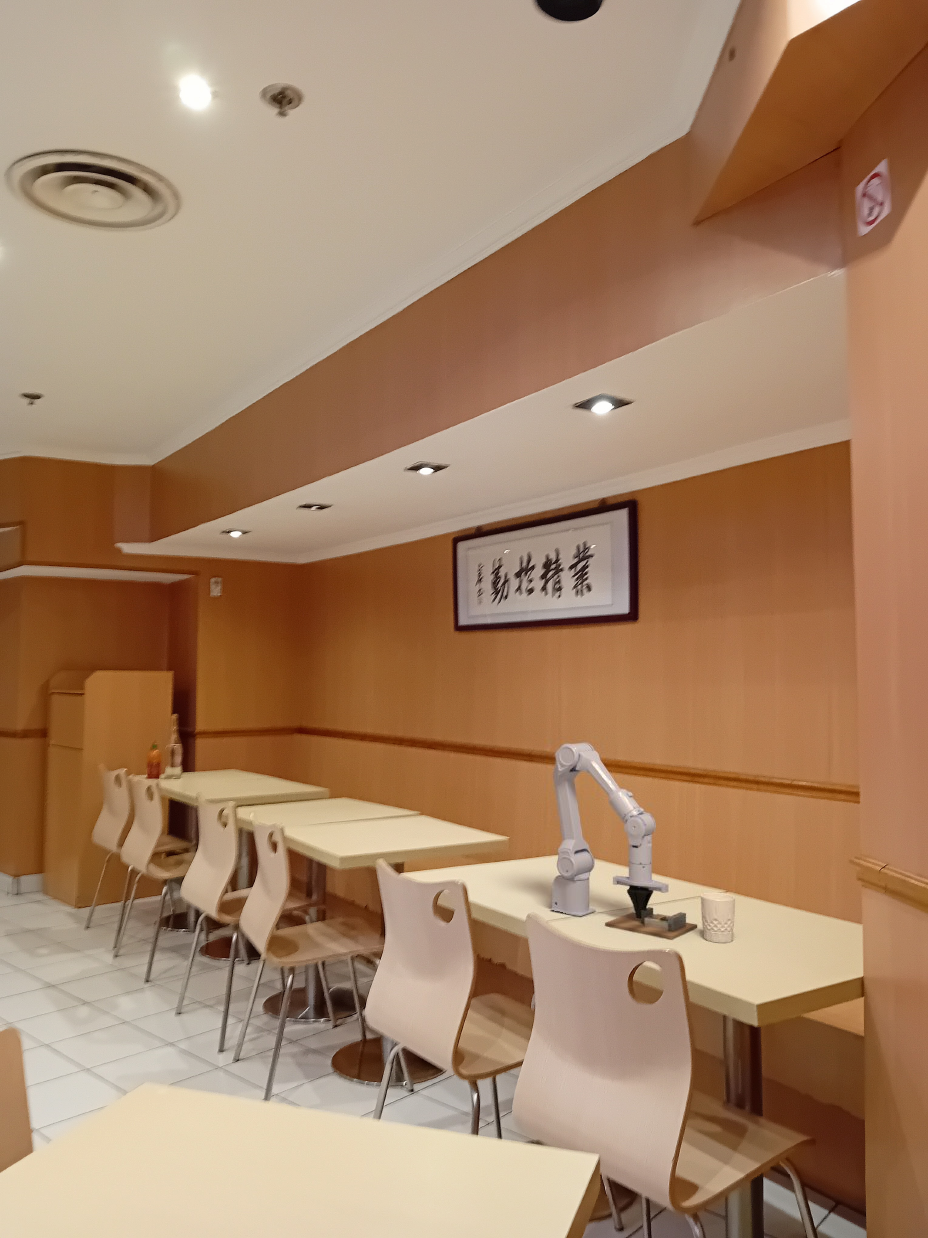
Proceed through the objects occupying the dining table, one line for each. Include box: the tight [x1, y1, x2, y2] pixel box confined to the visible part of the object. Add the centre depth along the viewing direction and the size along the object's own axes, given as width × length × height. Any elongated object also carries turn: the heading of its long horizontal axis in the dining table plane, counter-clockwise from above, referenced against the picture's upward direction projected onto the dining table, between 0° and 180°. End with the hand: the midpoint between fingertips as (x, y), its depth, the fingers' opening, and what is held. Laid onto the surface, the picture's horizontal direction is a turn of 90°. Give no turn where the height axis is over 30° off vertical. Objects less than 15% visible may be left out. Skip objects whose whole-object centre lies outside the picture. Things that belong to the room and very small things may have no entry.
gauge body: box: [645, 911, 687, 932], centre depth 222 cm, size 8×7×3 cm
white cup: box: [700, 892, 736, 944], centre depth 214 cm, size 8×8×10 cm
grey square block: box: [641, 906, 668, 924], centre depth 223 cm, size 6×6×3 cm
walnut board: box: [604, 911, 698, 941], centre depth 224 cm, size 18×14×1 cm
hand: (640, 917), depth 226 cm, fingers closed
